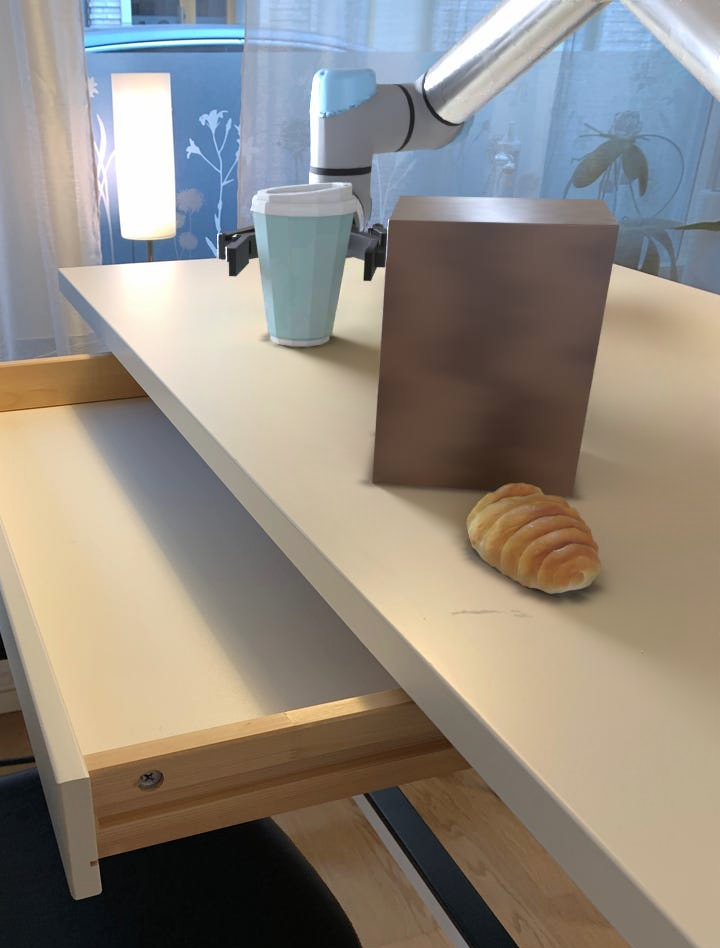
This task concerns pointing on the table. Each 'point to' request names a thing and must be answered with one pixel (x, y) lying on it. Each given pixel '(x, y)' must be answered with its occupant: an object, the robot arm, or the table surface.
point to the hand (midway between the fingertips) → (299, 264)
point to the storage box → (490, 340)
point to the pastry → (534, 539)
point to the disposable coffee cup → (302, 257)
